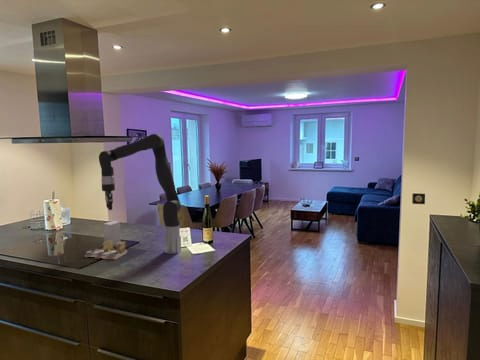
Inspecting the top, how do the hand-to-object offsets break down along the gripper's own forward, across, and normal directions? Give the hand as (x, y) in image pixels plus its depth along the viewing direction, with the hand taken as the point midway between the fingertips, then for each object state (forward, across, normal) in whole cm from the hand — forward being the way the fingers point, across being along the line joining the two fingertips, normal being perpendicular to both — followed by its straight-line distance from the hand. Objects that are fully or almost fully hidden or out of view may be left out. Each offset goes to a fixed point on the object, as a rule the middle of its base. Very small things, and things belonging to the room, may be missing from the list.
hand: (109, 208), depth 197 cm
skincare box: (+27, +12, -2) cm, 30 cm away
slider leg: (+25, -6, +4) cm, 26 cm away
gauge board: (+27, -7, +4) cm, 28 cm away
